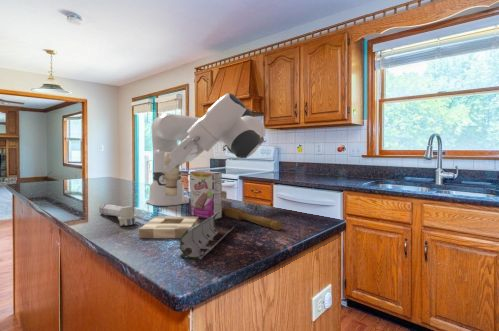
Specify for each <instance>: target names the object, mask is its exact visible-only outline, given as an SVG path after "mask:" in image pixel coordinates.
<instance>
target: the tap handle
mask: <svg viewBox="0 0 499 331" xmlns="http://www.w3.org/2000/svg"><path fill="white" fill-rule="evenodd" d="M222 215H224V216H225V217H229V218H232V219H236V220H243V221H246V222H247V221H248V222H250V223H253V224H256V225H259V226H262V227H264V228H268V229H270V228H271V230H274V231H280V230H281V229H282V222H281V221H279V220H273V219H272V218H271V219H270V218H267V217H262V216H260V215H254V214H249V213H248V212H246V210H245V209H241V208H237V207H232V206H229V207H227V206H222Z"/></svg>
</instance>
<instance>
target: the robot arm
mask: <svg viewBox="0 0 499 331" xmlns="http://www.w3.org/2000/svg"><path fill="white" fill-rule="evenodd" d="M150 129H151V139H152V140H151V141H152V142H151V143H152V150H153V151H152V153H153V172H152V180H153V181H152V182H151V183H150V184H149V197H148V200H146V201H145V202H146V204H150V205H153V206H158V207H159V206H162V207H163V206H164V207H167V206H169V207H170V206H178V205H184V204H189V202H190V197H189V195H186V194H187V193H186V192H185V186H184V183H183V182H182V180H181V179H182V172H181V171H180V170H181V169H180V168H181V166H182V165H183V164H185V163H188V162H191V161H193V160H195V159H196V158H197V157H198V156H200V154H202V153H203V152H204V151H205V152H207V153H208V152H210V150H212V149H213V147H215V145H217V143H221V142H223V143H224V147H226V148H227V151H229V152H230V154H232V155H234V156H235V157H236V158H238V159H247V158H248V157H251V156H252V155H253V154H254V153H256V151H258V148H259V147H260V146H261V145H262V144H263V143H264V140H265V138H264V137H265V134H266V127H265V125H264V123H263V122H262V121H261V120H260V119H258V118H257V117H255V116H254V115H253V113H252V111H251V109H250V108H247V107H246V105H245V104H244V103H243V102H242V101H241V100H240V99H239V98H238V97H237V96H236V95H235V94H232V93H230V92H228V93H226V94H224V95H222V96H221V97H220V98H218V100H216V101H215V102H214V103H213V104H212V105H211V106H209V108H208V109H207V111H206V112H205V114H204V115H203V116H202V117H198V116H188V115H185V114H176V113H175V114H173V113H164V114H161V115H160V116H157V117H155V119H154V120H153V121H152V123H151V126H150ZM178 141H180V144H178ZM165 152H171V153H170V155H169V158H170V159H171V161H170V163H169V165H168V166H167V167H166V168H165ZM178 164H179V179H177V195H176V196H166V195H165V189H166V187H165V186H166V179H164V170H166V171H167V172H171V171H172V170H173V169H174V168H175V167H176V166H177V165H178Z"/></svg>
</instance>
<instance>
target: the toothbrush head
mask: <svg viewBox="0 0 499 331" xmlns="http://www.w3.org/2000/svg"><path fill="white" fill-rule="evenodd" d="M99 213H100V214H101V215H104V216H105V217H106V216H117V220H118V221H119V226H132V225H136V218H137V215H136V214H135V213H134V208H133V207H132V206H131V205H130V206H121V205H114V204H112V203H110V202H109V203H104V204H101V205H100V207H99Z"/></svg>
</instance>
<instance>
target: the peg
mask: <svg viewBox="0 0 499 331" xmlns="http://www.w3.org/2000/svg"><path fill="white" fill-rule="evenodd" d="M170 153H171V152H165V168H166V167H167V166H168V165H169V163H170V161H171V159H170V158H169V155H170ZM164 179H166V186H165V187H166V189H165V195H166V196H176V195H177V179H179V164H178V165H177V166H176V167H175V168H174V169H173V170H172V171H171V172H167V171H166V170H164Z"/></svg>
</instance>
